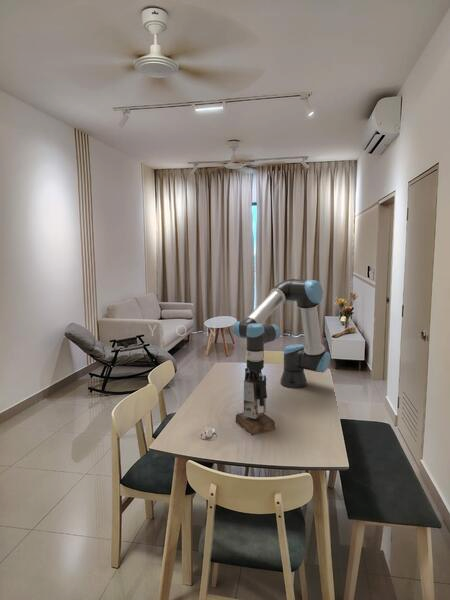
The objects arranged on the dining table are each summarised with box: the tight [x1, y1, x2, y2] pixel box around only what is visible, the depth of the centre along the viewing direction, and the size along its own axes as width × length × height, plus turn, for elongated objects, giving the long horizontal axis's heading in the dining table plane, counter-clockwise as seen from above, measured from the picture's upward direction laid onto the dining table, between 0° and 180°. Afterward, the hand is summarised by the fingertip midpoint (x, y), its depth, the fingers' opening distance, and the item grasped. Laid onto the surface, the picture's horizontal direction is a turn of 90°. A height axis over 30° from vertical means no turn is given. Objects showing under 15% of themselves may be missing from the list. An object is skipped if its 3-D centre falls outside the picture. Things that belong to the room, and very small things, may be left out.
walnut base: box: [235, 411, 276, 436], centre depth 171 cm, size 12×14×4 cm
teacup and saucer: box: [204, 426, 216, 438], centre depth 162 cm, size 9×8×4 cm
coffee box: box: [243, 379, 267, 419], centre depth 170 cm, size 9×6×16 cm
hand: (254, 408), depth 170 cm, fingers closed on coffee box, 8 cm apart
